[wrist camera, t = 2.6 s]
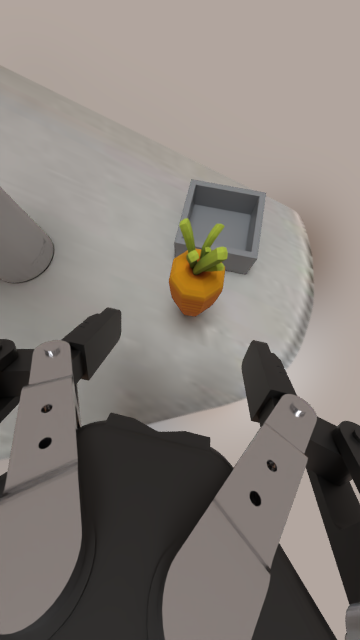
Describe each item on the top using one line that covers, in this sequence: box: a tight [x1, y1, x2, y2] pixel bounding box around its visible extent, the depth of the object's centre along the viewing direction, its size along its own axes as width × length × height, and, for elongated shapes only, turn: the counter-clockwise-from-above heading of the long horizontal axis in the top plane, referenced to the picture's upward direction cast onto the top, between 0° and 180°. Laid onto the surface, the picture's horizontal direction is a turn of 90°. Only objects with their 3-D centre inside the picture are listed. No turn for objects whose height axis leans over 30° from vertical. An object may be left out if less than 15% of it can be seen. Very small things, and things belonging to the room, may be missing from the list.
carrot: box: [169, 218, 228, 316], centre depth 19 cm, size 5×5×15 cm
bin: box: [174, 179, 266, 274], centre depth 27 cm, size 11×11×4 cm
